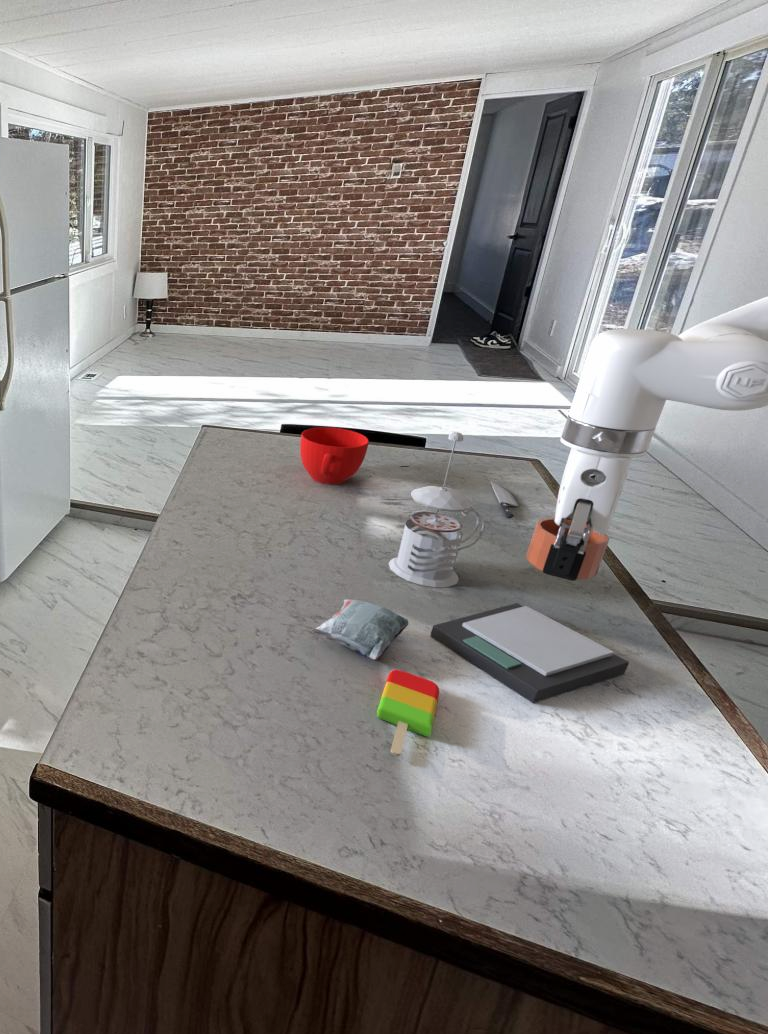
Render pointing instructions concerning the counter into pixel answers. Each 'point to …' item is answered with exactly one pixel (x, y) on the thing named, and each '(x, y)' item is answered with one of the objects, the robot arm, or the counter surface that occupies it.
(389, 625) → the packaged food
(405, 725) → the popsicle
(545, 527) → the bowl
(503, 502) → the chef's knife
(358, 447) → the ceramic cup
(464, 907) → the counter surface
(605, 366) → the robot arm
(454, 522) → the french press
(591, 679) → the scale
